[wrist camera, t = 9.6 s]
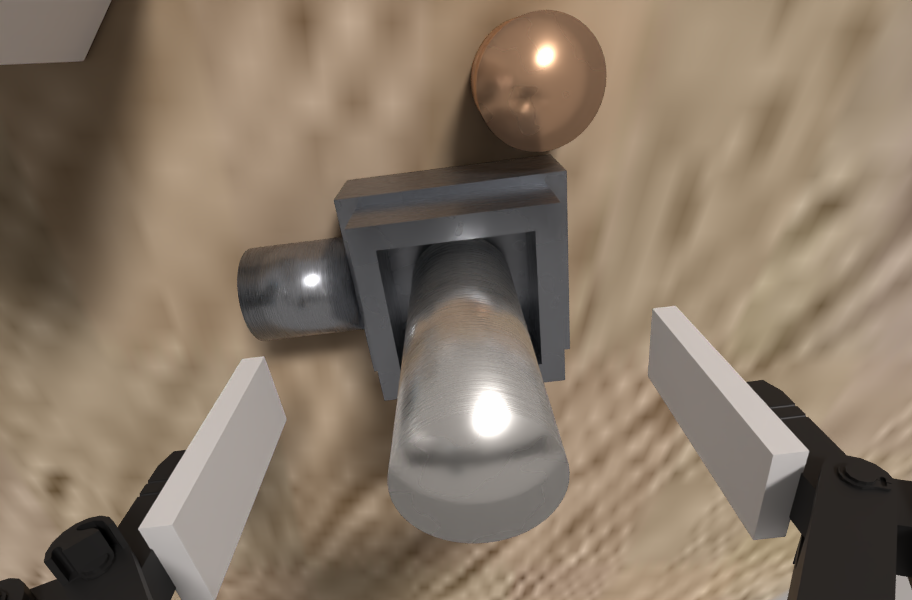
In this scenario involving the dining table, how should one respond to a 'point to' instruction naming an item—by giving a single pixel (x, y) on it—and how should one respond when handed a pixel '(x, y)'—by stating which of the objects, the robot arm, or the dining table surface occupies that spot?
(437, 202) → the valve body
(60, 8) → the milk carton
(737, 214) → the dining table surface
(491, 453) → the silver rounded cylinder
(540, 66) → the glossy bronze sphere
